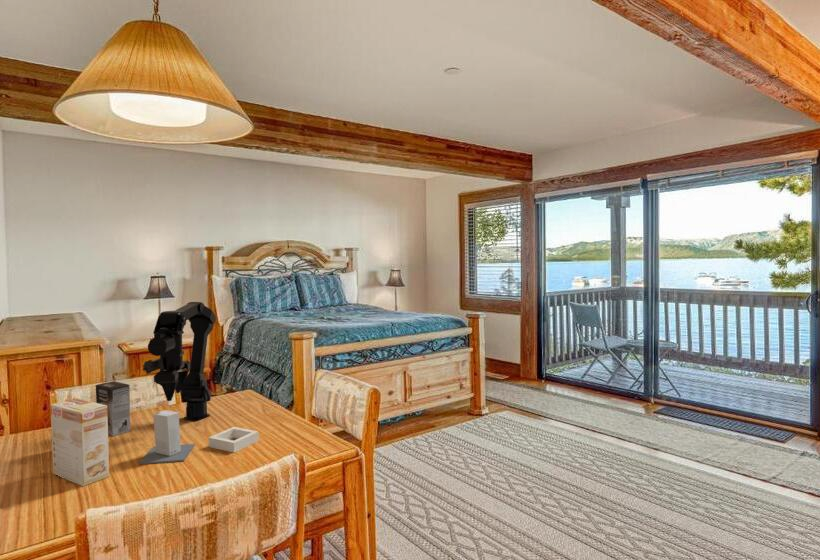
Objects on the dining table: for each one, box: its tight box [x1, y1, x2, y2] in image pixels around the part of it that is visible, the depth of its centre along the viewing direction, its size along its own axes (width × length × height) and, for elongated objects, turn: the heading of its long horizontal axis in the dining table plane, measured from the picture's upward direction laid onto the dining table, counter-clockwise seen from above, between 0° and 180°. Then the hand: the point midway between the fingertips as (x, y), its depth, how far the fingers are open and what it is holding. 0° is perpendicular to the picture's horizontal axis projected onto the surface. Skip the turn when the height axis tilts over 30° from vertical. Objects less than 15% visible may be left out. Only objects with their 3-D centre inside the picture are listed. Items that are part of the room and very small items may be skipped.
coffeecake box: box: [50, 398, 111, 487], centre depth 131 cm, size 15×7×20 cm, turn 61°
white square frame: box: [208, 426, 260, 454], centre depth 153 cm, size 10×10×3 cm
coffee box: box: [95, 380, 131, 437], centre depth 163 cm, size 9×6×16 cm
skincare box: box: [152, 409, 181, 456], centre depth 145 cm, size 6×4×12 cm
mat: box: [138, 443, 196, 465], centre depth 145 cm, size 12×12×1 cm
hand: (173, 396), depth 159 cm, fingers open, 9 cm apart
